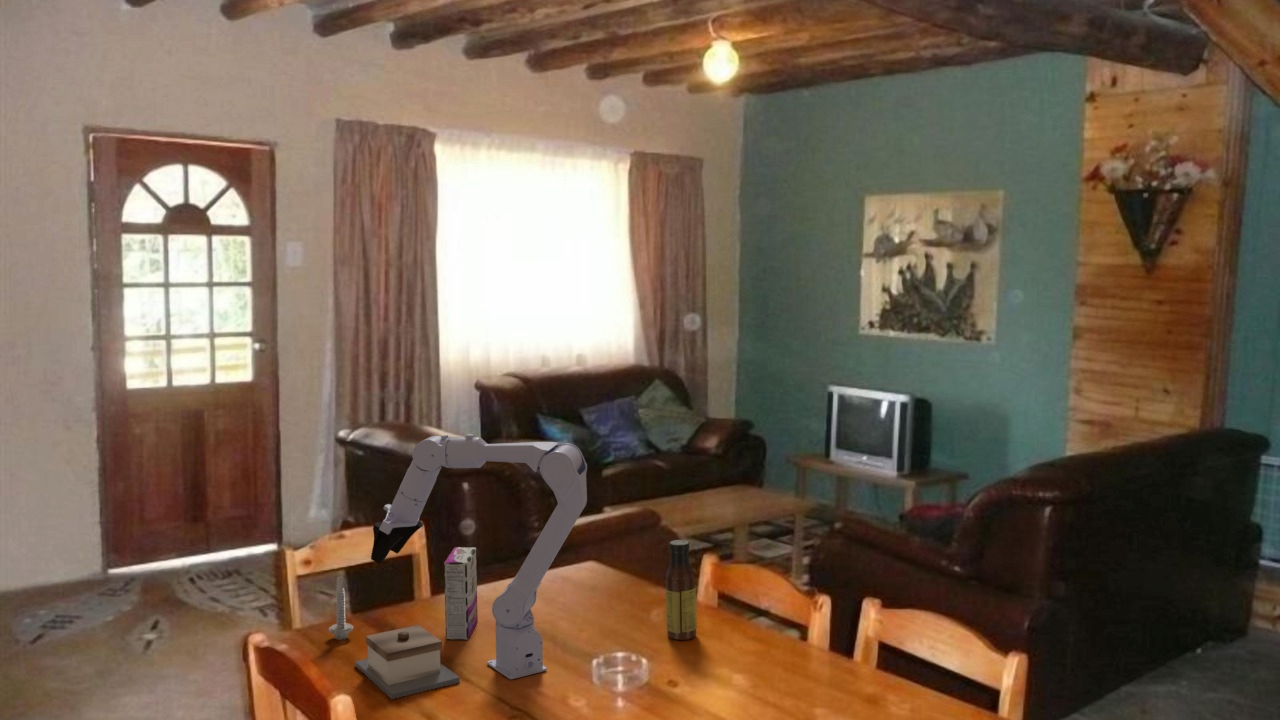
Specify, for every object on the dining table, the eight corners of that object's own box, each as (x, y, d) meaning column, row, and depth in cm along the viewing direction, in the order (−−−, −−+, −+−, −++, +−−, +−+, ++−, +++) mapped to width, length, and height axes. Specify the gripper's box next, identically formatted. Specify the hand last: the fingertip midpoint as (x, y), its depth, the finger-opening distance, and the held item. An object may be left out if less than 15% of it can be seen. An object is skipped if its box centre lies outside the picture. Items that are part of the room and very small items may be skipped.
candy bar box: (454, 621, 225) (454, 546, 223) (478, 621, 224) (477, 546, 223) (443, 640, 213) (443, 561, 212) (468, 641, 213) (467, 562, 212)
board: (459, 682, 193) (459, 677, 192) (392, 699, 185) (392, 694, 185) (419, 652, 207) (419, 647, 207) (355, 666, 200) (355, 661, 200)
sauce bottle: (697, 631, 220) (698, 538, 218) (695, 642, 214) (697, 546, 212) (666, 629, 220) (667, 537, 218) (663, 640, 214) (664, 545, 212)
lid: (441, 649, 194) (441, 636, 194) (387, 661, 188) (387, 648, 188) (418, 632, 203) (418, 619, 202) (365, 643, 196) (365, 630, 196)
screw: (354, 633, 217) (352, 641, 212) (330, 634, 216) (327, 643, 212) (353, 571, 216) (350, 579, 211) (329, 572, 215) (325, 580, 210)
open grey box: (440, 672, 195) (440, 649, 194) (388, 685, 189) (388, 660, 188) (418, 655, 203) (417, 633, 202) (368, 667, 197) (367, 643, 196)
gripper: (410, 477, 208) (383, 536, 210) (378, 492, 193) (349, 555, 196) (441, 494, 207) (413, 553, 209) (411, 510, 192) (381, 573, 195)
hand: (384, 555), depth 202 cm, fingers open, 7 cm apart
